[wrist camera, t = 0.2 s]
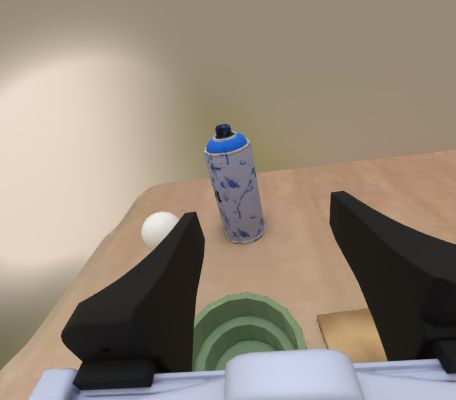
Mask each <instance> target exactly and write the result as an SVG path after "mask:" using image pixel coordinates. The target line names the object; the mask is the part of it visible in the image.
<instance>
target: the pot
mask: <svg viewBox="0 0 456 400" xmlns="http://www.w3.org/2000/svg"><path fill="white" fill-rule="evenodd" d="M303 349H307V347H306V343H305V339H304V336H303V332H302V329H301V327H300V326H299V325H298V323H297V322H296V320H295V319H294V318H293V316H292V315H291V314H290V312H289V311H288V310H287V309H286V308H285V307H283V306H282V305H280V304H278V303H277V302H275V301H274V300H272V299H270V298H269V297H266V296H261V295H256V294H252V293H241V294H234V295H227V296H225V297H223V298H221V299H219V300H217V301H215V302H213V303H211V304H209V305H207V306H206V307H205V308H204V309H203V310H202V311H201V312H200V313H199V314H198V315H197V316H196V317H195V319H194V335H193V361H192V372H198V371H217V370H226V363H227V362H228V361H229V360H231V359H233V358H234V357H236V356H237V355H242V354H247V353H254V352H271V351H287V350H303Z"/></svg>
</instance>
